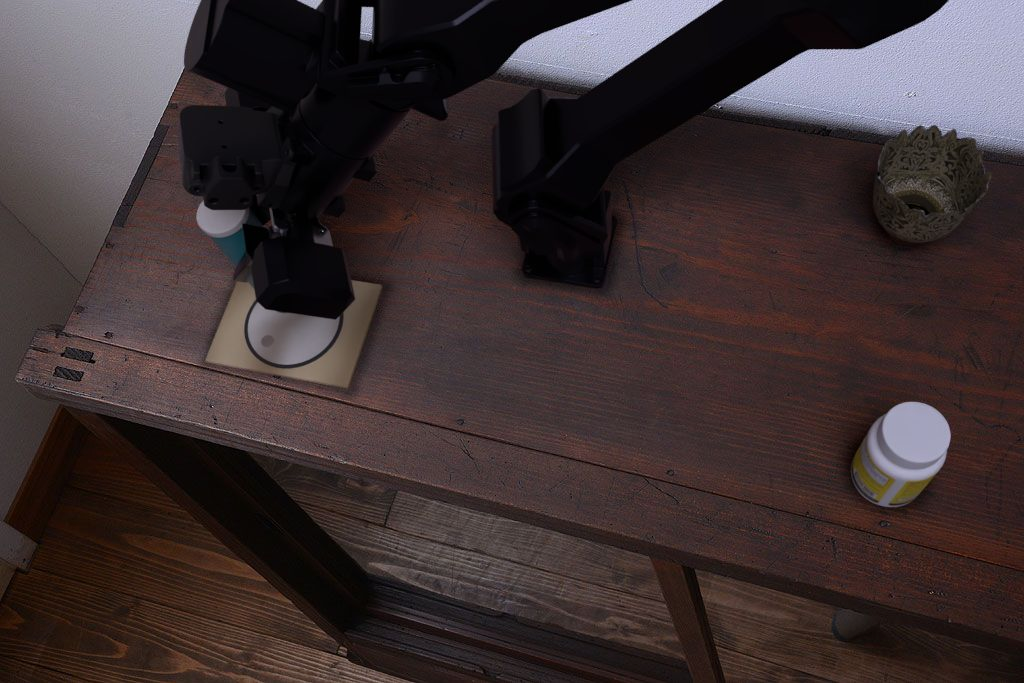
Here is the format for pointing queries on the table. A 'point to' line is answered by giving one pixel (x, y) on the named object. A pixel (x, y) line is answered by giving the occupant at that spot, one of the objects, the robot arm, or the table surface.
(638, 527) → the table surface
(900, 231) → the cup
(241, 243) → the paint dauber
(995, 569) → the table surface
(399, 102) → the robot arm
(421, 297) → the table surface
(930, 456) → the supplement bottle
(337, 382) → the sketch board
